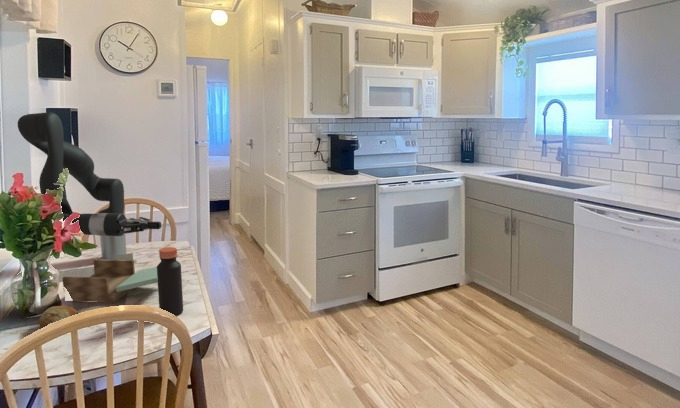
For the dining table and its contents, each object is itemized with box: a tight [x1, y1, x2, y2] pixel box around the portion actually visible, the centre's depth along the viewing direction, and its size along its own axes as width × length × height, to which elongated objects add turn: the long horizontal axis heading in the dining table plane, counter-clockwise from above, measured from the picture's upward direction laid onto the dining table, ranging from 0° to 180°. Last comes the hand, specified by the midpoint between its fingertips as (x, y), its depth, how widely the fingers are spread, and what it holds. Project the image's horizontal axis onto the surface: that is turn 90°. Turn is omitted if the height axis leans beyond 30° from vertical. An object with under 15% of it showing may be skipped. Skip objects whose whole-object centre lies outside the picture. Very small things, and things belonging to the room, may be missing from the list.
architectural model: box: [117, 252, 138, 264], centre depth 179 cm, size 3×7×7 cm, turn 116°
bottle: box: [156, 246, 184, 316], centre depth 140 cm, size 7×7×20 cm
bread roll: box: [38, 305, 79, 329], centre depth 132 cm, size 10×10×8 cm
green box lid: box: [116, 266, 158, 292], centre depth 157 cm, size 2×16×14 cm
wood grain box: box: [62, 258, 136, 303], centre depth 158 cm, size 16×19×8 cm
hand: (160, 225), depth 154 cm, fingers closed
